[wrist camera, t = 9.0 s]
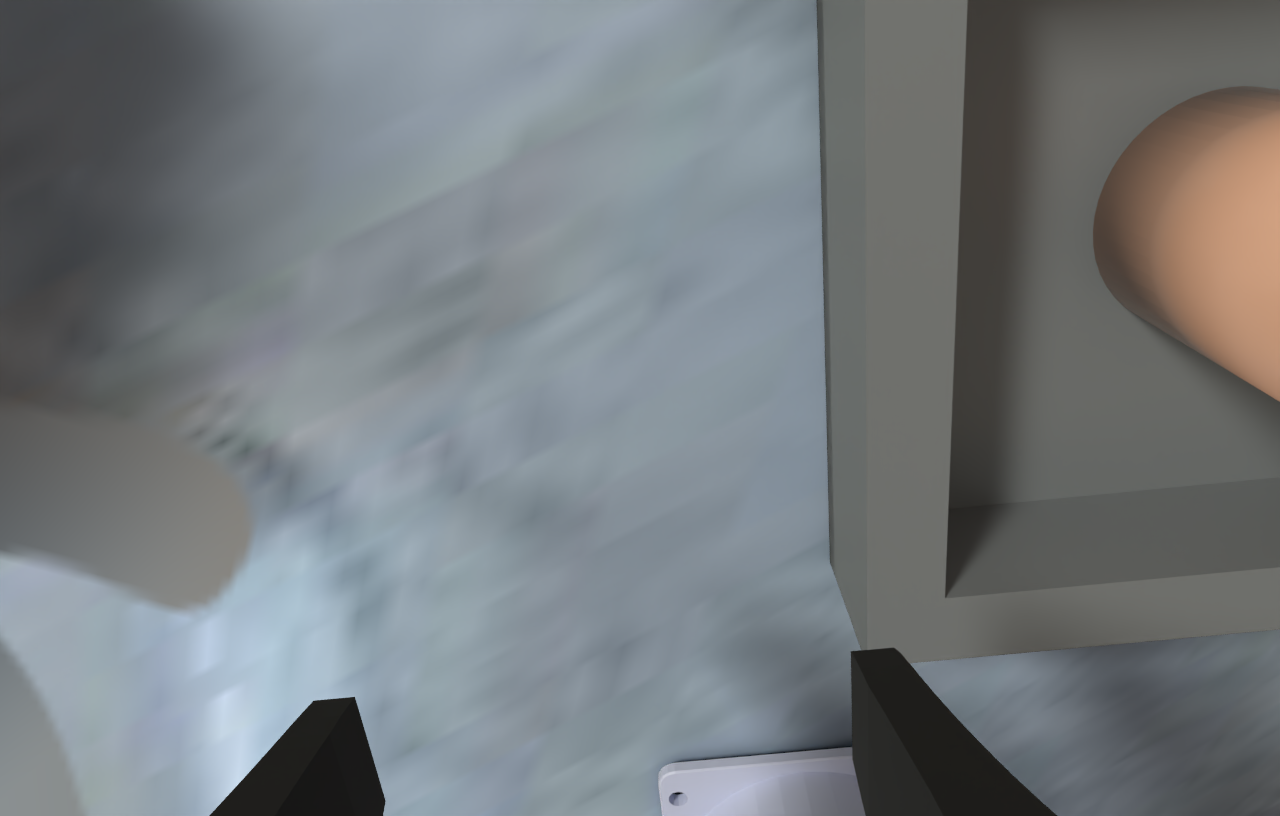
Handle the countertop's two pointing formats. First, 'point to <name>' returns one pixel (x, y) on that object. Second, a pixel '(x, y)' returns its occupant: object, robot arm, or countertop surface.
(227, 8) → the countertop surface
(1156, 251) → the peach rounded cylinder
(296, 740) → the robot arm
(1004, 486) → the bin
